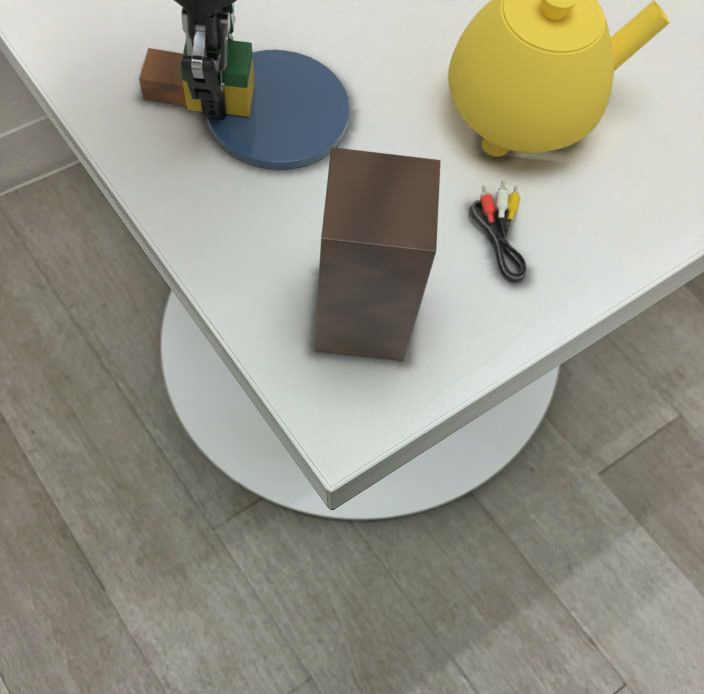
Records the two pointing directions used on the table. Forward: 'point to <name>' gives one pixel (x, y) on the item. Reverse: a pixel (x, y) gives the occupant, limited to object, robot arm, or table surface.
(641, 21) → the teapot
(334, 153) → the tall dark wooden block
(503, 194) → the composite cable
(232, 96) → the sponge
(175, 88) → the brown square block
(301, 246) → the table surface
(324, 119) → the plate
